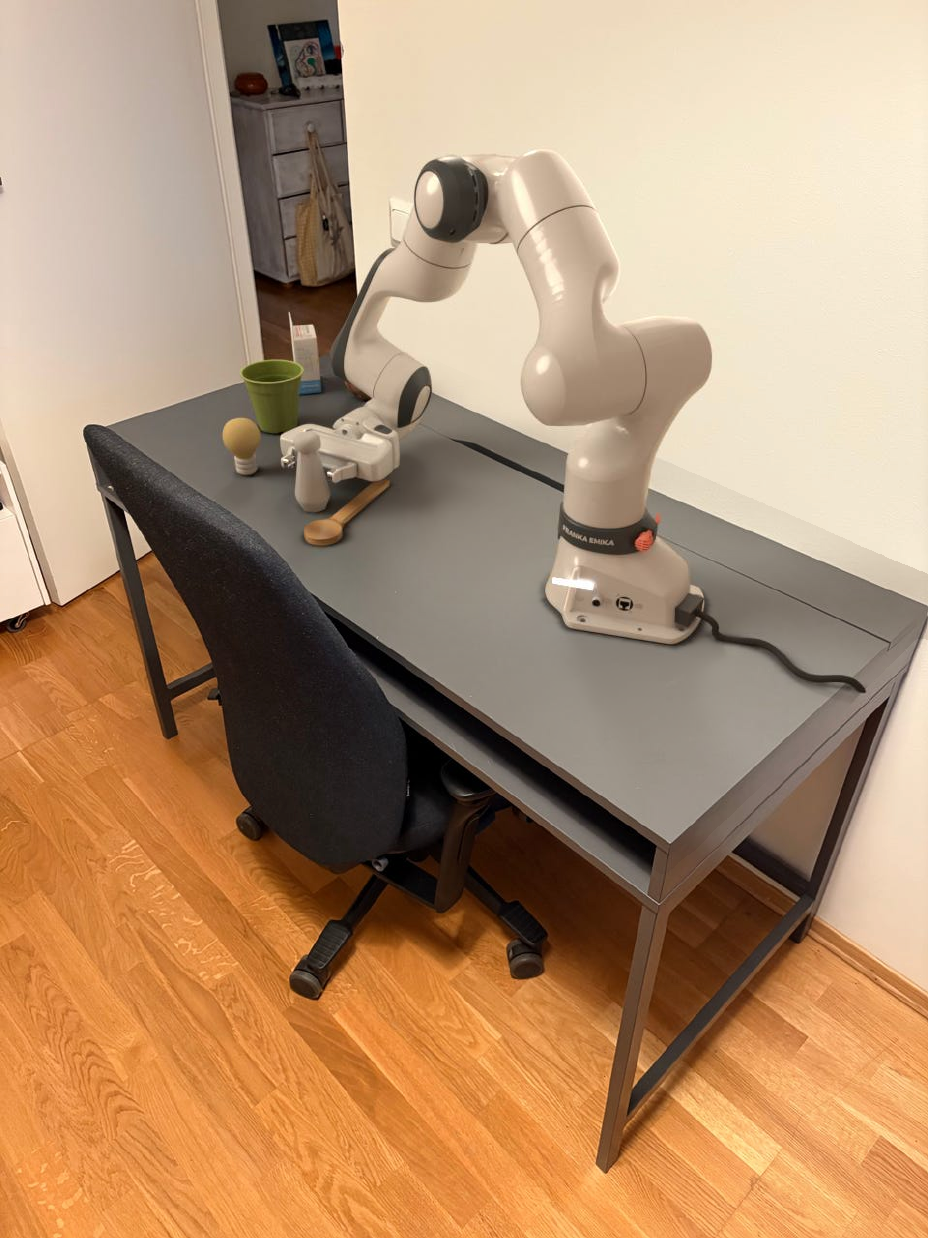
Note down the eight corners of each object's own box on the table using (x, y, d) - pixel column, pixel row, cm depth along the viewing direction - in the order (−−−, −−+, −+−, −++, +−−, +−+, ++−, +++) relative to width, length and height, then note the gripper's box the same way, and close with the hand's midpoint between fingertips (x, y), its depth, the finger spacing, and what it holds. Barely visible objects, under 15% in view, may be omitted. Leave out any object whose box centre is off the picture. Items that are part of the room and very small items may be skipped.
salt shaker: (324, 517, 149) (317, 444, 142) (291, 513, 150) (282, 441, 142) (335, 499, 154) (329, 428, 146) (303, 496, 155) (295, 425, 147)
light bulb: (268, 476, 160) (261, 424, 154) (232, 483, 159) (223, 429, 153) (261, 461, 165) (253, 409, 159) (226, 467, 163) (217, 415, 157)
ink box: (322, 392, 190) (315, 322, 181) (298, 395, 189) (290, 324, 180) (318, 377, 196) (311, 308, 188) (295, 379, 196) (287, 310, 187)
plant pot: (304, 440, 172) (298, 383, 165) (242, 439, 172) (233, 382, 166) (314, 413, 182) (308, 358, 175) (254, 413, 182) (246, 358, 175)
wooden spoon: (369, 480, 159) (368, 474, 159) (399, 487, 157) (398, 481, 157) (297, 540, 144) (296, 533, 143) (329, 549, 142) (328, 542, 141)
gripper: (307, 408, 159) (255, 438, 150) (405, 434, 151) (356, 468, 141) (311, 441, 163) (260, 473, 153) (407, 468, 155) (359, 503, 145)
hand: (307, 471), depth 147 cm, fingers open, 8 cm apart
